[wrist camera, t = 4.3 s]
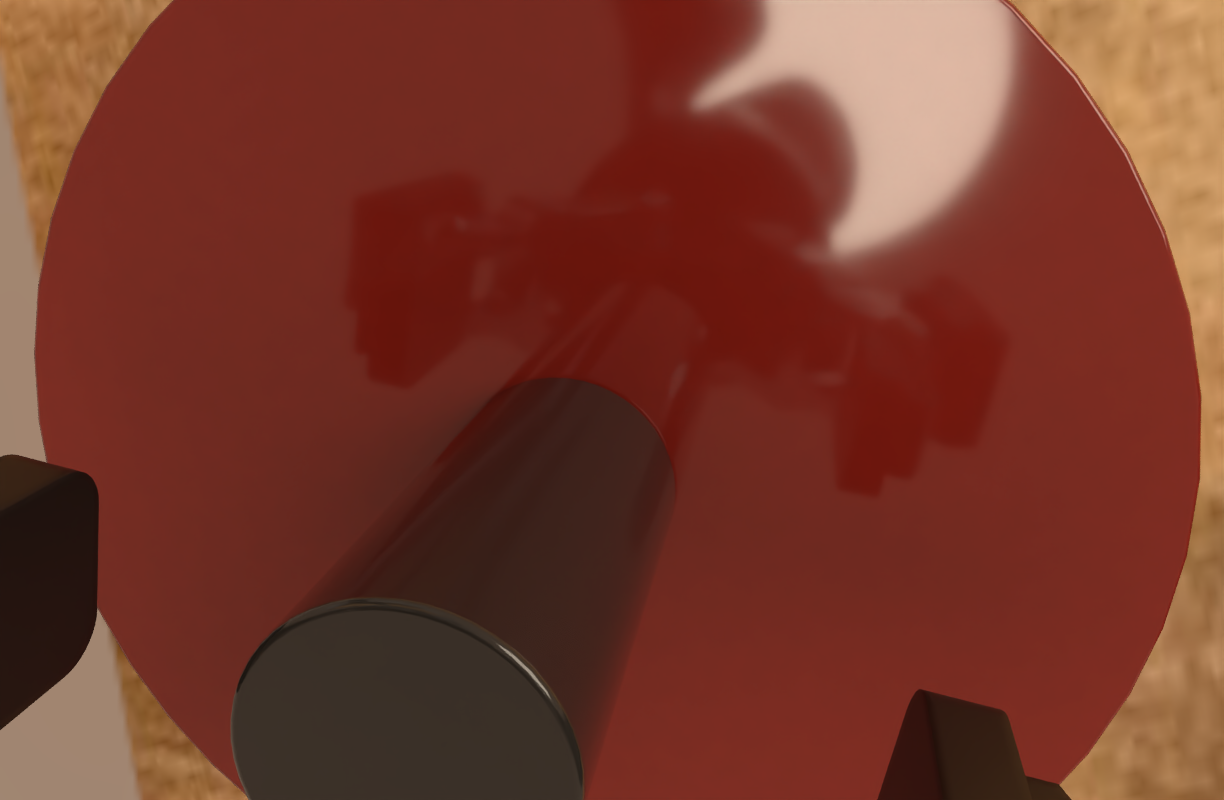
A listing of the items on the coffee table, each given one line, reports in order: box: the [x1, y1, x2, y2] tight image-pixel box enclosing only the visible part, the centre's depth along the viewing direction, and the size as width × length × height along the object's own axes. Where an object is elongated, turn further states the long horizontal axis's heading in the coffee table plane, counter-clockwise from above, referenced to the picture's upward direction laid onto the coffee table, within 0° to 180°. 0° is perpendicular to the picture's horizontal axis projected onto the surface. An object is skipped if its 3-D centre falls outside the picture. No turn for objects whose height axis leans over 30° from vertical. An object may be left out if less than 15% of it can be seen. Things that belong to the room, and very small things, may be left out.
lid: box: [34, 0, 1201, 800], centre depth 12 cm, size 16×16×7 cm
